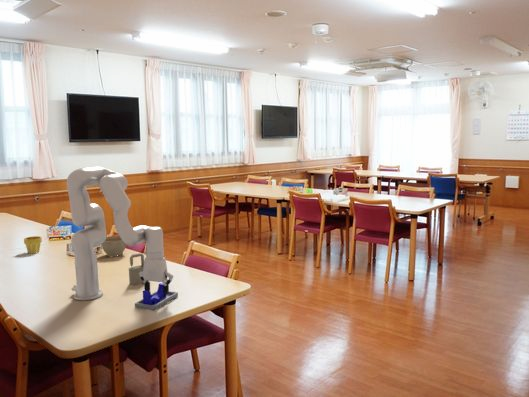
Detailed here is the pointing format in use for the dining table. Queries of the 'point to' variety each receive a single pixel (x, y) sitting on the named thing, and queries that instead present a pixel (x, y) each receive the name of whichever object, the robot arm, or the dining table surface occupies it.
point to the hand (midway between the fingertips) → (156, 292)
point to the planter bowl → (113, 246)
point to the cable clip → (156, 298)
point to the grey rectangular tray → (162, 302)
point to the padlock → (136, 270)
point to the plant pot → (33, 243)
